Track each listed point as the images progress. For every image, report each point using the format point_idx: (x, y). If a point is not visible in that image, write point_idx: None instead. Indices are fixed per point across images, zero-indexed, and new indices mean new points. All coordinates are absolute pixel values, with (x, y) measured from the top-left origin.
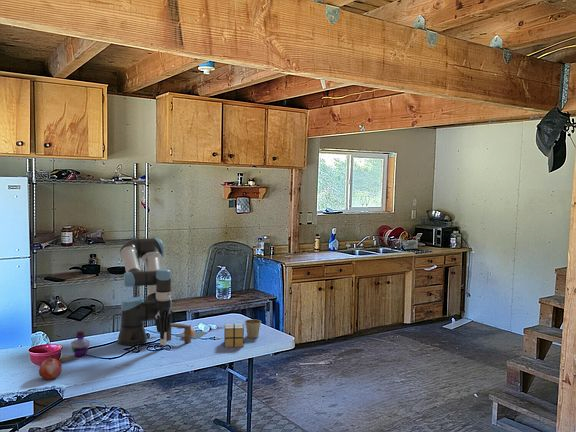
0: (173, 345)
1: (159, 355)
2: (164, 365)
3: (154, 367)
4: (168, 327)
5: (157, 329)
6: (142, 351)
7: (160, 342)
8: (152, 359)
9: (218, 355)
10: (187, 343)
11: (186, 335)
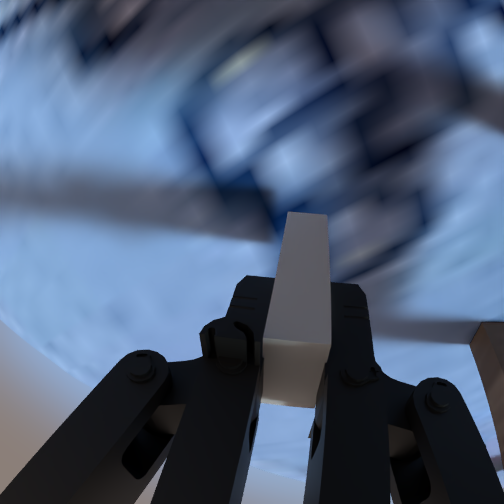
0: (422, 270)
1: (125, 285)
2: (59, 358)
3: (22, 329)
4: (390, 468)
5: (92, 406)
6: (118, 83)
7: (285, 227)
8: (55, 278)
9: (287, 474)
10: (470, 345)
11: (493, 392)
